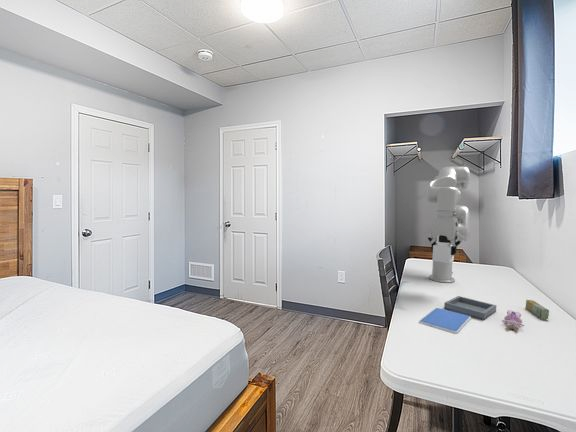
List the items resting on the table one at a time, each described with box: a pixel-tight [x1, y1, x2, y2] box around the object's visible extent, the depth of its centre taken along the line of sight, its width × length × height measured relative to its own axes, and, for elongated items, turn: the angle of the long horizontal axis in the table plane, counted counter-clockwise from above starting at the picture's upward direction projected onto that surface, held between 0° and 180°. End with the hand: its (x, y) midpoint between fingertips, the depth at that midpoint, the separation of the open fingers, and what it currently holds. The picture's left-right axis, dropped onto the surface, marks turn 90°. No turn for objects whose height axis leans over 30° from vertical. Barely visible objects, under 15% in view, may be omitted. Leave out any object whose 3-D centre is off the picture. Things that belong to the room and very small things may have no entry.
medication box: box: [525, 299, 550, 320], centre depth 117 cm, size 12×3×4 cm, turn 164°
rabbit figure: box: [501, 309, 525, 333], centre depth 106 cm, size 6×6×15 cm
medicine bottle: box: [431, 235, 455, 263], centre depth 135 cm, size 7×7×12 cm
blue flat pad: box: [418, 307, 472, 335], centre depth 109 cm, size 19×13×1 cm, turn 136°
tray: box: [443, 295, 498, 321], centre depth 119 cm, size 14×14×2 cm
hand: (443, 253), depth 136 cm, fingers closed on medicine bottle, 7 cm apart
